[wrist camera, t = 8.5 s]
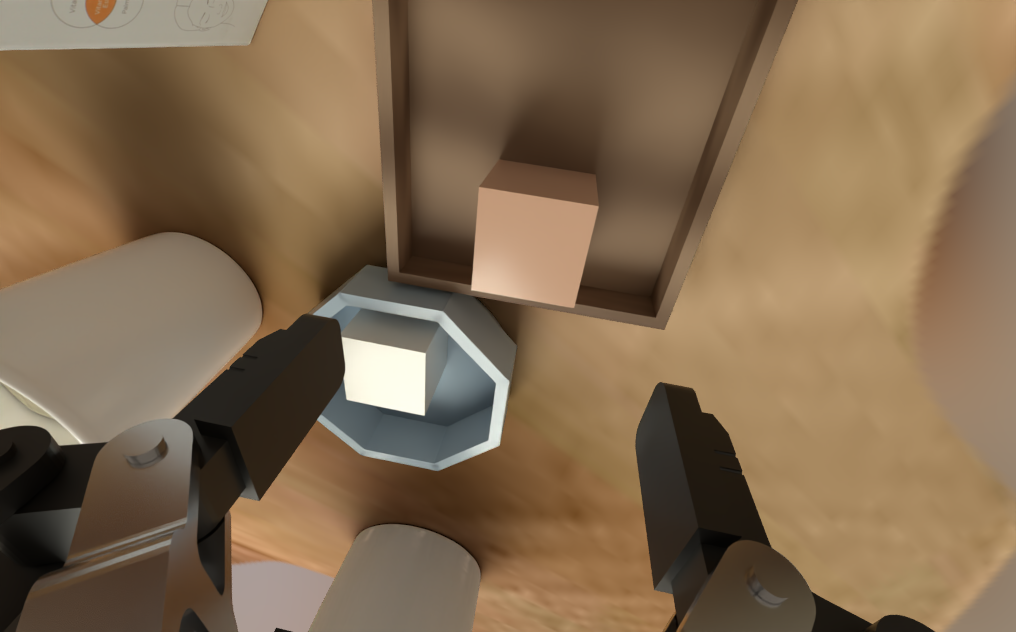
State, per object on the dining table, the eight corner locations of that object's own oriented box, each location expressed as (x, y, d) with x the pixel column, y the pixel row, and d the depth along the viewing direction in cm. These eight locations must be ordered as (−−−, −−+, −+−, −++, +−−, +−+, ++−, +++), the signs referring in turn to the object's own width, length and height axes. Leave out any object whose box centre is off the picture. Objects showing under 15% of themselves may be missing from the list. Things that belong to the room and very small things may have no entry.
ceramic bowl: (308, 248, 24) (267, 279, 21) (527, 287, 23) (518, 324, 20) (335, 404, 31) (307, 444, 28) (502, 437, 31) (493, 482, 27)
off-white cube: (375, 291, 24) (338, 336, 21) (449, 305, 24) (425, 353, 20) (379, 350, 27) (346, 399, 23) (446, 363, 27) (424, 415, 23)
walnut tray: (396, -80, 16) (366, -100, 13) (782, -33, 15) (816, -46, 13) (406, 259, 23) (388, 280, 21) (656, 302, 23) (664, 329, 20)
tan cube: (498, 159, 19) (478, 186, 15) (595, 174, 19) (598, 206, 15) (490, 247, 22) (471, 290, 18) (575, 262, 21) (574, 308, 18)
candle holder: (289, 272, 25) (100, 419, 15) (261, 370, 31) (107, 527, 21) (127, 186, 24) (-202, 288, 14) (127, 305, 29) (-110, 441, 19)
